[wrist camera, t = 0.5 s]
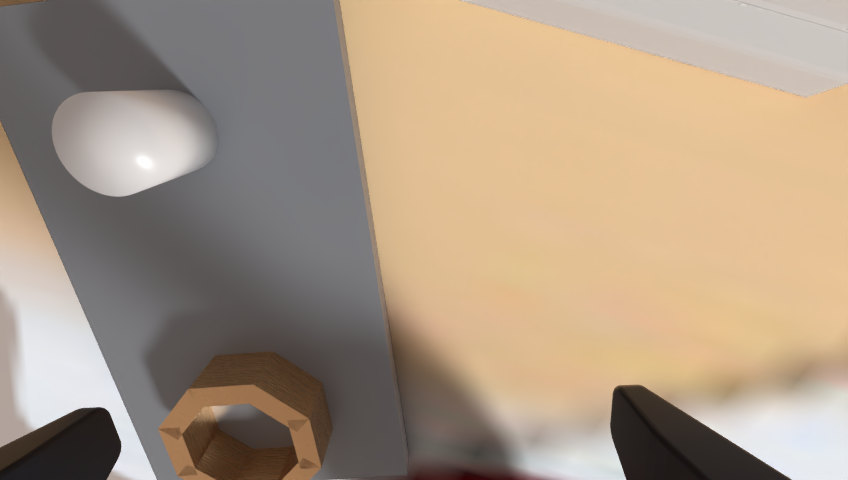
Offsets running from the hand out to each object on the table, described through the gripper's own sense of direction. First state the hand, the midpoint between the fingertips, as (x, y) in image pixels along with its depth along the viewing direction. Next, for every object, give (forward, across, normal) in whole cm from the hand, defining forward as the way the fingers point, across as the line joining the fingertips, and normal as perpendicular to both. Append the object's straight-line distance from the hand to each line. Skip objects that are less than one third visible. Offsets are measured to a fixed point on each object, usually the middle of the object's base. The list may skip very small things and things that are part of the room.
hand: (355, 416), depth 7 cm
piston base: (+12, +8, +2) cm, 15 cm away
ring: (+11, +8, +9) cm, 17 cm away
